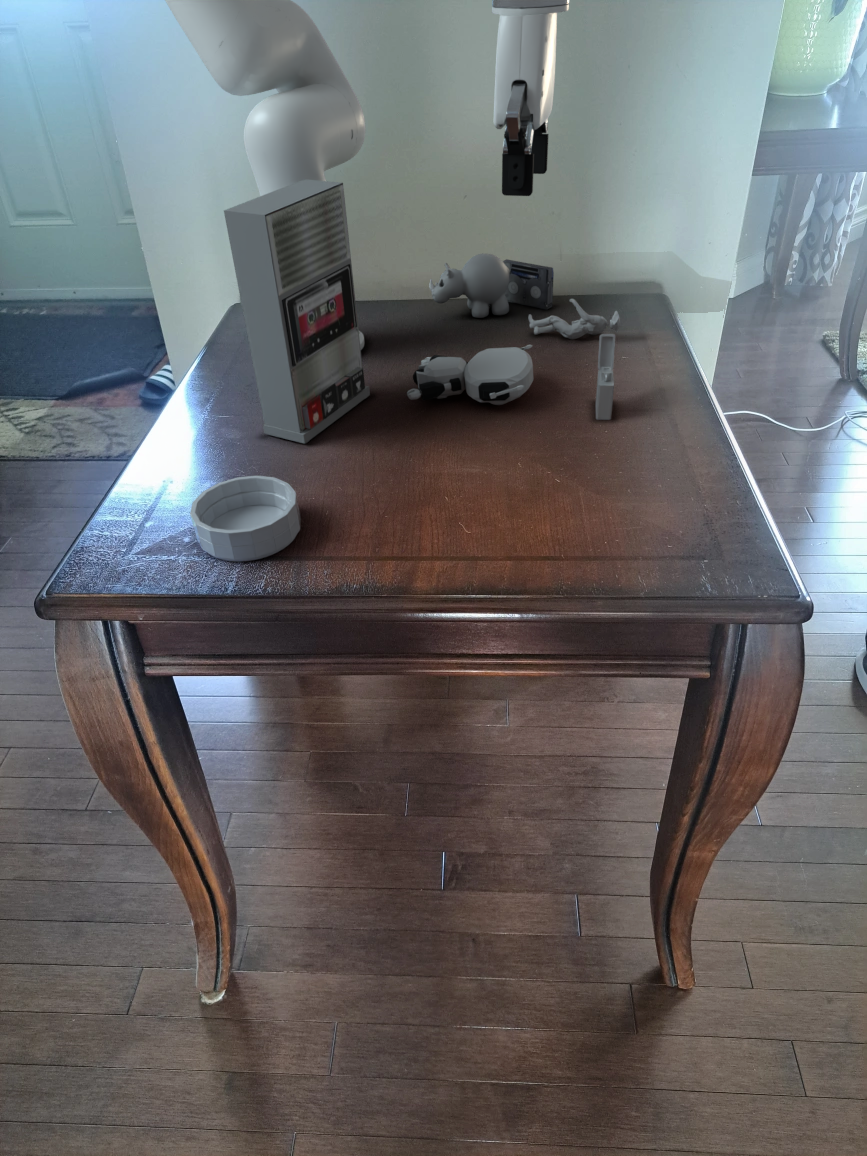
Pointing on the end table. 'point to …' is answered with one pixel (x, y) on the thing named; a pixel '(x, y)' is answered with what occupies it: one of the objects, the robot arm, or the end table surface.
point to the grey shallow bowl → (246, 518)
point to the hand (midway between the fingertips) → (525, 183)
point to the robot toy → (476, 376)
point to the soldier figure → (575, 324)
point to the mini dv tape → (530, 284)
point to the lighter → (605, 377)
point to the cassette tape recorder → (299, 305)
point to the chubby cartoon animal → (476, 285)
